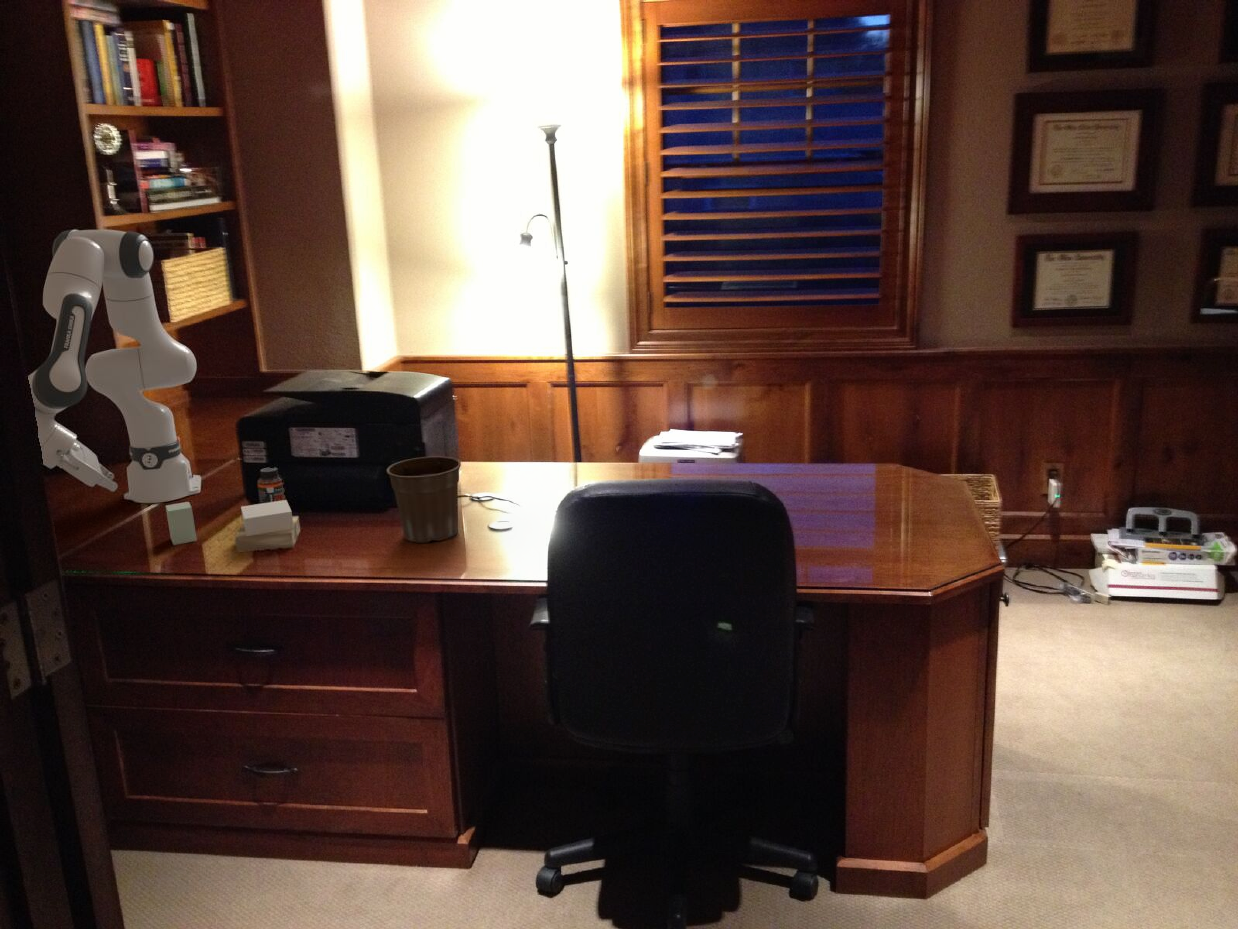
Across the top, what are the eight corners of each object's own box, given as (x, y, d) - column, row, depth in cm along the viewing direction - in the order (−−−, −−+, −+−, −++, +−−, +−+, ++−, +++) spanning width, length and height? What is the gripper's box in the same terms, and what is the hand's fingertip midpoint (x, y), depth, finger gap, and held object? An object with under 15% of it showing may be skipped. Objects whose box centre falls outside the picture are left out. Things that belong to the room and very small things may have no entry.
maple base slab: (247, 536, 255) (244, 520, 254) (300, 532, 256) (298, 515, 255) (237, 554, 244) (235, 537, 242) (293, 549, 245) (291, 532, 244)
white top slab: (243, 523, 252) (240, 506, 251) (288, 516, 255) (286, 499, 254) (246, 536, 243) (244, 518, 242) (293, 528, 246) (291, 511, 245)
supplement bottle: (279, 518, 265) (273, 473, 262) (257, 517, 266) (250, 472, 263) (291, 510, 271) (285, 466, 268) (269, 509, 272) (263, 465, 269)
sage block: (170, 538, 254) (165, 505, 252) (193, 534, 256) (188, 501, 254) (173, 545, 250) (168, 511, 248) (196, 540, 252) (191, 507, 250)
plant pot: (379, 543, 245) (371, 473, 241) (417, 520, 260) (411, 453, 255) (443, 550, 239) (437, 478, 235) (479, 526, 254) (473, 458, 249)
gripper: (68, 445, 228) (127, 482, 235) (64, 427, 245) (119, 462, 252) (48, 469, 227) (108, 506, 234) (45, 449, 245) (101, 484, 252)
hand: (114, 483), depth 243 cm, fingers open, 8 cm apart
